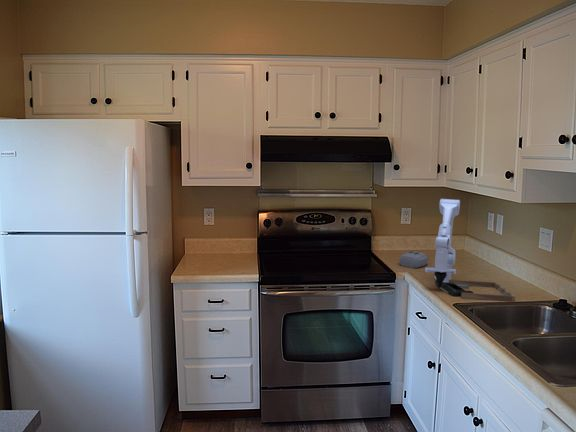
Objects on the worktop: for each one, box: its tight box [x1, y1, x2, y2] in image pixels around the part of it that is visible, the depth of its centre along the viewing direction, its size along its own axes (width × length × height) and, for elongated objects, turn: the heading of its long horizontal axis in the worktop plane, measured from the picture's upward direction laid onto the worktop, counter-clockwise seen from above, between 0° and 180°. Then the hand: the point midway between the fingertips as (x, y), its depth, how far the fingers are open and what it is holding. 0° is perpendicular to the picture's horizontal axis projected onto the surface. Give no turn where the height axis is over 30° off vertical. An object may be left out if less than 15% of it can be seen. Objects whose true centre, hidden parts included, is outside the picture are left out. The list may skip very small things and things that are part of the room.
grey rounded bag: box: [398, 251, 430, 269], centre depth 271 cm, size 15×8×20 cm
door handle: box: [434, 279, 474, 297], centre depth 221 cm, size 3×20×16 cm
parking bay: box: [449, 279, 516, 302], centre depth 219 cm, size 23×24×2 cm
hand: (439, 286), depth 221 cm, fingers closed
